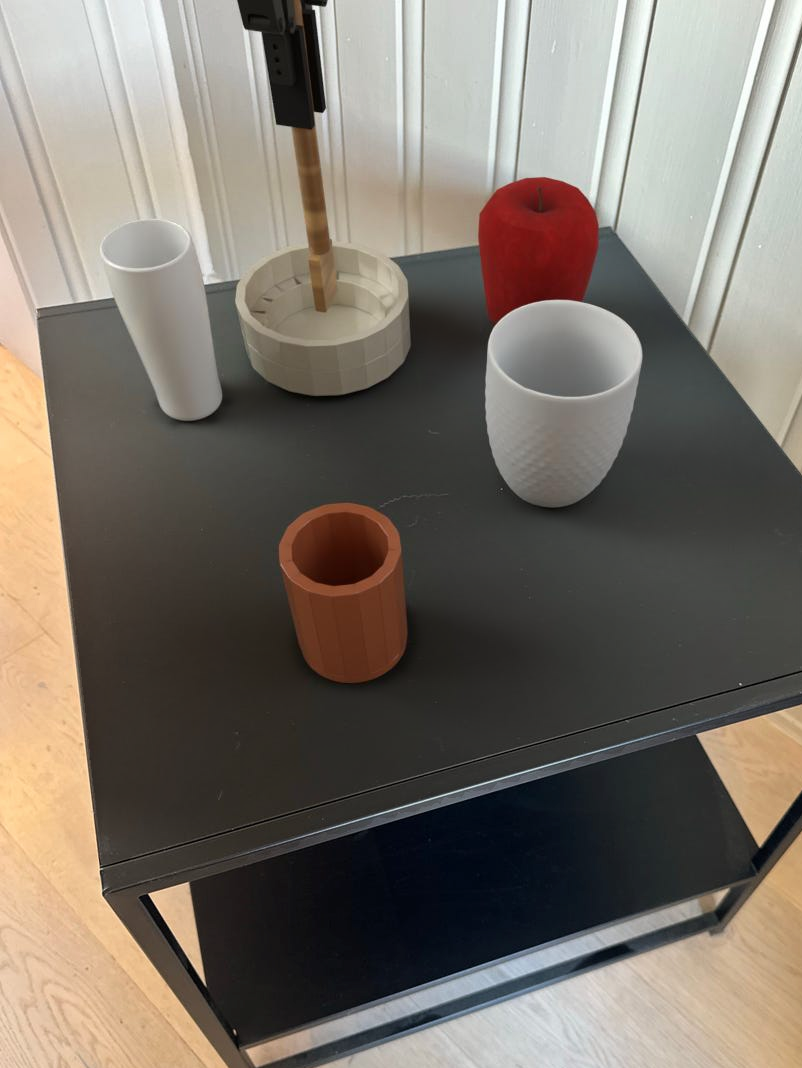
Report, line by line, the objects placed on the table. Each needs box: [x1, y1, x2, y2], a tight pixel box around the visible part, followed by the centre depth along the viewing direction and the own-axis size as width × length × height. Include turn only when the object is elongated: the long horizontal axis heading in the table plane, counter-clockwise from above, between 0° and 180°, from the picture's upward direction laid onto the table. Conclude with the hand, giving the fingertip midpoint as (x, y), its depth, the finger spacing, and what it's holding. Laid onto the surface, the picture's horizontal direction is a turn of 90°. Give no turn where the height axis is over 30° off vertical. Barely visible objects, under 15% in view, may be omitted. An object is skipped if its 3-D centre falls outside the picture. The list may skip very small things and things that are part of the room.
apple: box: [477, 176, 600, 326], centre depth 83 cm, size 11×10×14 cm
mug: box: [484, 300, 643, 508], centre depth 73 cm, size 15×11×13 cm
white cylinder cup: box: [99, 218, 223, 422], centre depth 75 cm, size 7×7×15 cm
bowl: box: [234, 240, 412, 397], centre depth 83 cm, size 15×15×6 cm
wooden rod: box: [290, 0, 338, 313], centre depth 71 cm, size 3×2×27 cm, turn 166°
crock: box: [278, 502, 409, 684], centre depth 64 cm, size 8×8×10 cm
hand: (301, 115), depth 69 cm, fingers closed on wooden rod, 2 cm apart
